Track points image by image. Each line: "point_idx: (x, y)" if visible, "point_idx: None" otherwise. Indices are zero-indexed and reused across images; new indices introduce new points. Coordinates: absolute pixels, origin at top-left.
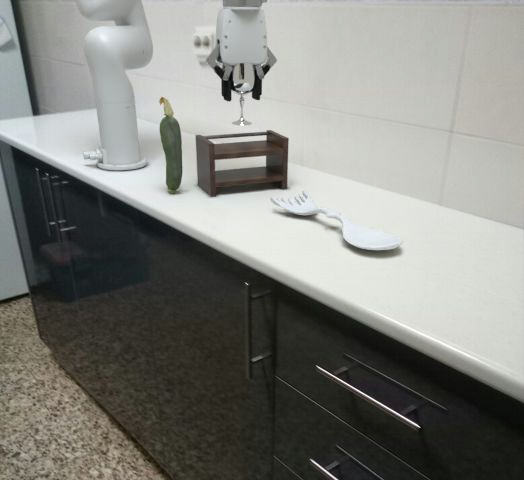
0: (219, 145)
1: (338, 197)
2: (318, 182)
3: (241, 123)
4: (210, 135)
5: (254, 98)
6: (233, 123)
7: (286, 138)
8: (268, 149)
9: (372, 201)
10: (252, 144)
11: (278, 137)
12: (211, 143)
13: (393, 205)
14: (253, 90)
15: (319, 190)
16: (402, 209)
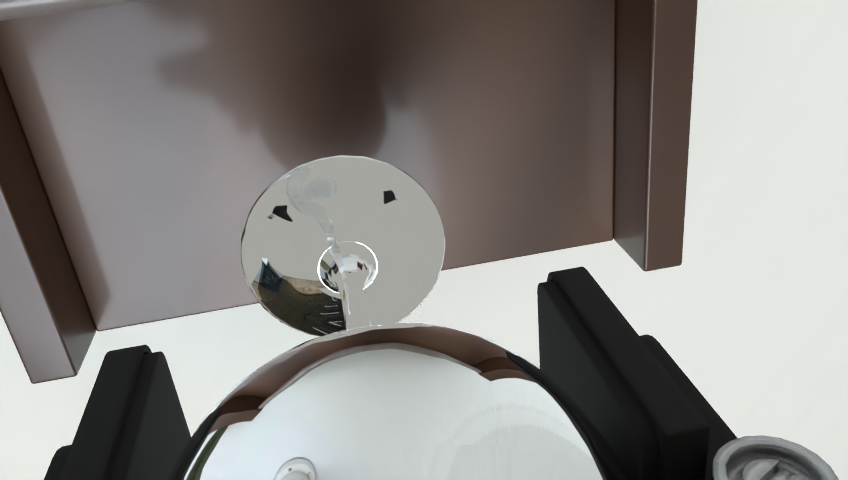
0: (151, 42)
1: (713, 309)
2: (767, 53)
3: (327, 321)
4: (43, 1)
5: (540, 365)
6: (253, 286)
7: (664, 267)
8: (508, 246)
9: (801, 372)
10: (445, 58)
11: (642, 176)
12: (52, 371)
13: (836, 420)
14: (574, 385)
15: (694, 197)
16: (832, 460)
